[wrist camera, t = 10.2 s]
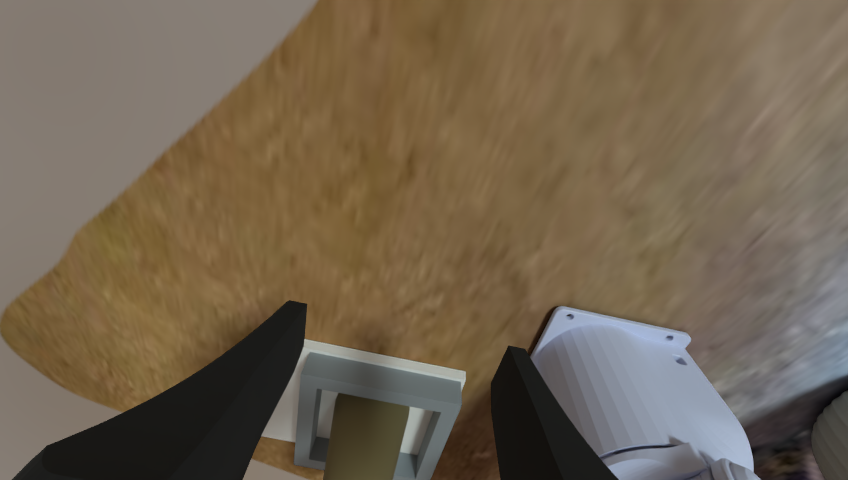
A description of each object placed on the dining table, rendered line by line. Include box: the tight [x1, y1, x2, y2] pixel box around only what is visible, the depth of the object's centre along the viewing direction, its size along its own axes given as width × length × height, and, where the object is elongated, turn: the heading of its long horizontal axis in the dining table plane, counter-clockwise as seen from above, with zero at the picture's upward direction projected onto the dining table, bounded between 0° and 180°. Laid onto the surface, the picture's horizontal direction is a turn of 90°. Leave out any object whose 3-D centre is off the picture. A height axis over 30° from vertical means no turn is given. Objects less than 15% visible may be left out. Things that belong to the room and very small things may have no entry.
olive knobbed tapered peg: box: [323, 393, 410, 480], centre depth 25 cm, size 6×6×11 cm
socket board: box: [261, 339, 466, 480], centre depth 30 cm, size 16×12×3 cm
